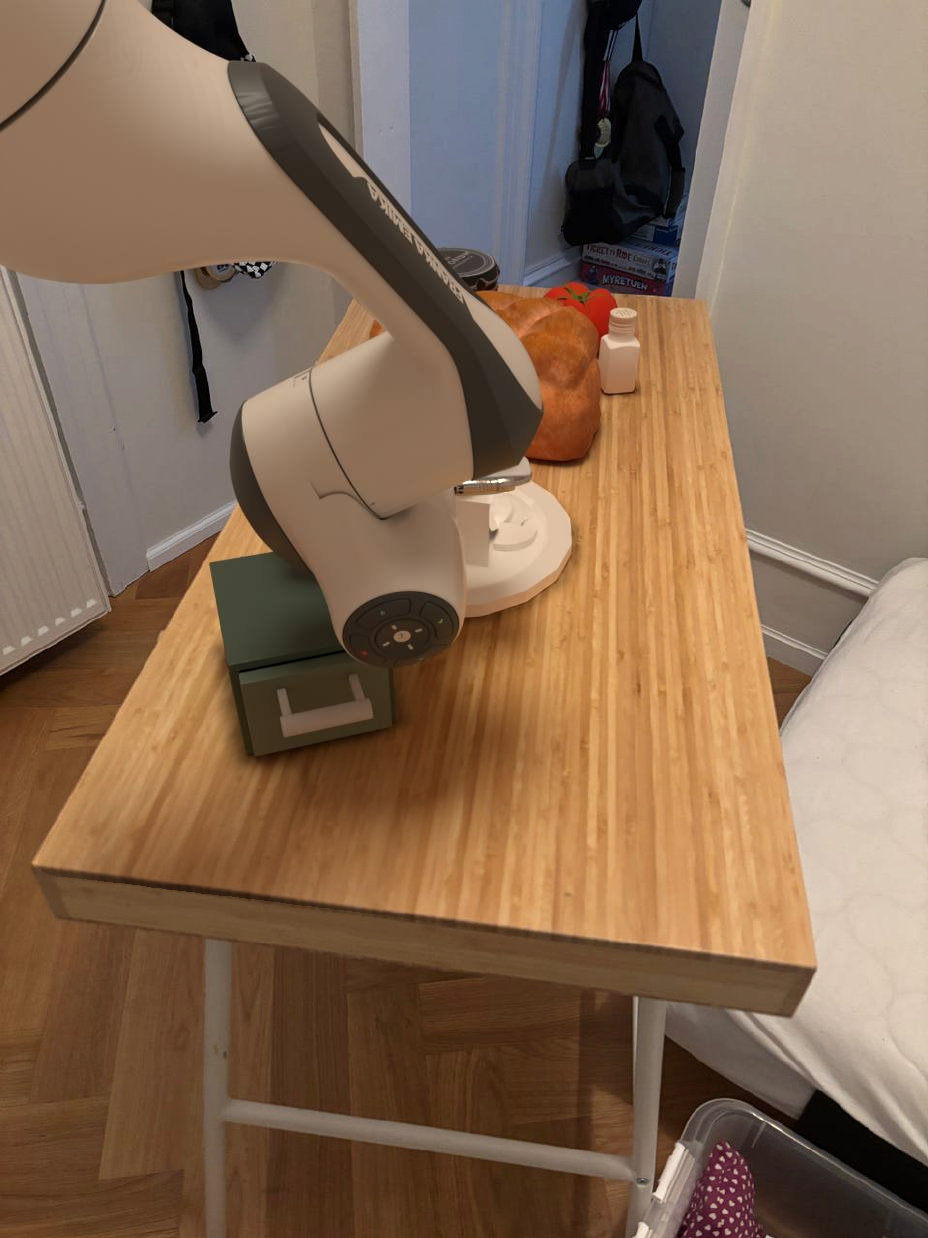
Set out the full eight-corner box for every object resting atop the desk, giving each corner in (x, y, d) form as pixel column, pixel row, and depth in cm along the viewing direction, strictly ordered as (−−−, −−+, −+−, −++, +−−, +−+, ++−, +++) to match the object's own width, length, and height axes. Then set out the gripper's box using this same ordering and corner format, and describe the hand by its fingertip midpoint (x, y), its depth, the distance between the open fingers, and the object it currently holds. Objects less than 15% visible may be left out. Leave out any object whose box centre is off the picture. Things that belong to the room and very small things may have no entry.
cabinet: (396, 722, 72) (391, 633, 66) (246, 755, 69) (227, 665, 63) (360, 622, 81) (353, 537, 75) (226, 648, 78) (208, 562, 72)
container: (495, 354, 123) (498, 279, 117) (399, 350, 124) (396, 274, 118) (502, 317, 133) (504, 245, 127) (412, 313, 134) (410, 242, 128)
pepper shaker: (604, 395, 114) (612, 320, 108) (594, 381, 117) (602, 307, 111) (635, 393, 115) (645, 317, 109) (625, 379, 118) (634, 304, 112)
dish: (551, 637, 79) (560, 526, 72) (273, 596, 83) (256, 487, 76) (586, 488, 98) (597, 387, 91) (357, 460, 102) (350, 362, 95)
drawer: (406, 766, 67) (402, 694, 62) (263, 799, 65) (248, 726, 60) (358, 632, 78) (352, 562, 74) (235, 656, 76) (221, 585, 71)
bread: (582, 473, 100) (596, 333, 90) (352, 437, 106) (341, 302, 96) (604, 415, 110) (619, 284, 101) (393, 385, 116) (387, 259, 106)
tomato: (519, 343, 126) (521, 287, 122) (576, 323, 132) (581, 269, 127) (575, 369, 120) (580, 312, 115) (633, 347, 125) (640, 292, 121)
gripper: (538, 448, 66) (512, 365, 76) (243, 460, 64) (258, 374, 75) (534, 523, 70) (509, 434, 80) (256, 537, 68) (268, 444, 79)
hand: (386, 405), depth 78 cm, fingers closed on lemon, 5 cm apart
